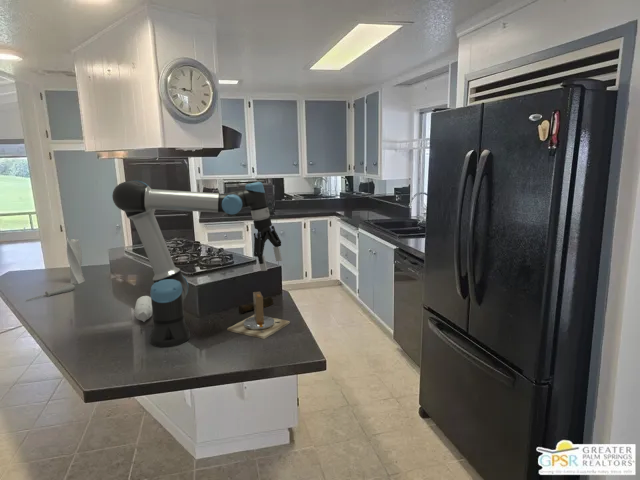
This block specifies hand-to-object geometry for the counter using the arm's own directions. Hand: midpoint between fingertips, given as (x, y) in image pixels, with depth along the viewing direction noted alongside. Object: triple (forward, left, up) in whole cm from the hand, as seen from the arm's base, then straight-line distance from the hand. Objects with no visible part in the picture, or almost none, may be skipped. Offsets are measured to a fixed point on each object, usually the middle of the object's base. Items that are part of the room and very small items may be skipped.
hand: (271, 265), depth 188 cm
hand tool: (-17, +9, -25) cm, 32 cm away
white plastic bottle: (-55, -24, -25) cm, 65 cm away
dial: (-1, -10, -24) cm, 26 cm away
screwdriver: (-130, -24, -26) cm, 135 cm away
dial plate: (-1, -10, -25) cm, 27 cm away
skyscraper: (-143, -2, -25) cm, 145 cm away
